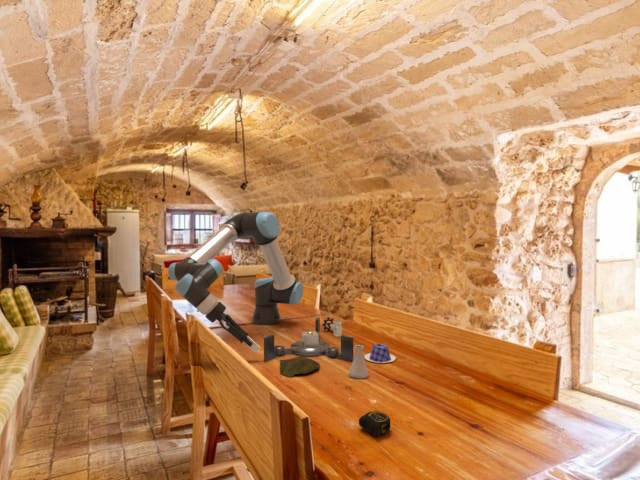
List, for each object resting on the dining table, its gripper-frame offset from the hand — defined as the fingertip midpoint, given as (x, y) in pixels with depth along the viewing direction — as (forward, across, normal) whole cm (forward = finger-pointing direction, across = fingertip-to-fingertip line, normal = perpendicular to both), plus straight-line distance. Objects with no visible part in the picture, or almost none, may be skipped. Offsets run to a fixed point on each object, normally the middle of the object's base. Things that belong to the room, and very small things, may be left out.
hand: (257, 350), depth 153 cm
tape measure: (+22, +58, +16) cm, 65 cm away
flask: (+27, +22, +21) cm, 40 cm away
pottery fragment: (+13, +12, +6) cm, 18 cm away
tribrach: (+19, -10, +14) cm, 26 cm away
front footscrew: (+7, -3, +2) cm, 8 cm away
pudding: (+36, +6, +30) cm, 47 cm away
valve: (+29, -32, +23) cm, 48 cm away
